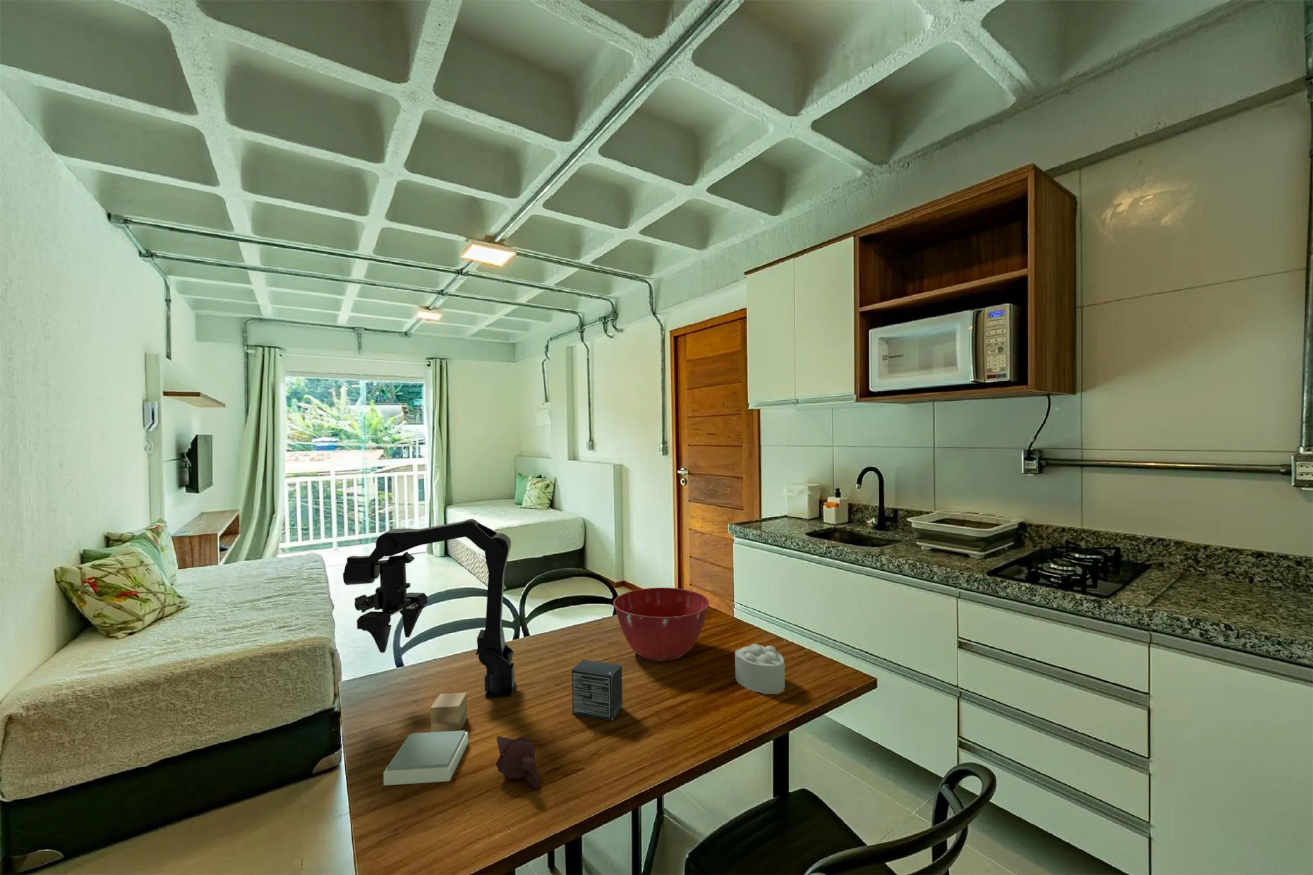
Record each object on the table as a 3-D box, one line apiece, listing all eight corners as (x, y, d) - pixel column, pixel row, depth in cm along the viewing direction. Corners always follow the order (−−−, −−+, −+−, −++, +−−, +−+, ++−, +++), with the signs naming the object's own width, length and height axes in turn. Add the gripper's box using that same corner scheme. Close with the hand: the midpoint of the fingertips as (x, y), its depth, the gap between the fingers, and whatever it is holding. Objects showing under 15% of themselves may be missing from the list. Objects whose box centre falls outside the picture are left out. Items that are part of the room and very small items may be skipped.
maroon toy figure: (476, 734, 101) (514, 777, 90) (510, 711, 106) (549, 749, 95) (484, 763, 102) (522, 808, 92) (517, 739, 107) (556, 779, 97)
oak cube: (467, 718, 118) (466, 692, 118) (459, 733, 112) (458, 706, 112) (440, 719, 118) (439, 693, 118) (431, 735, 112) (430, 707, 112)
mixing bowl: (651, 627, 173) (651, 581, 173) (727, 646, 156) (726, 595, 156) (594, 657, 150) (593, 604, 150) (675, 683, 133) (674, 624, 133)
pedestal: (468, 742, 109) (467, 728, 109) (449, 781, 97) (449, 765, 97) (409, 746, 108) (409, 732, 108) (383, 785, 96) (383, 769, 96)
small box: (623, 707, 122) (623, 663, 122) (612, 722, 116) (612, 675, 116) (584, 700, 126) (583, 657, 126) (571, 714, 119) (570, 669, 119)
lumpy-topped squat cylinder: (758, 668, 141) (757, 637, 141) (795, 687, 131) (794, 653, 130) (729, 679, 136) (729, 646, 136) (766, 699, 125) (765, 664, 125)
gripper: (389, 570, 137) (391, 629, 137) (334, 592, 118) (337, 659, 118) (427, 571, 135) (429, 630, 135) (378, 593, 116) (380, 662, 117)
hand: (395, 644), depth 126 cm, fingers open, 9 cm apart
